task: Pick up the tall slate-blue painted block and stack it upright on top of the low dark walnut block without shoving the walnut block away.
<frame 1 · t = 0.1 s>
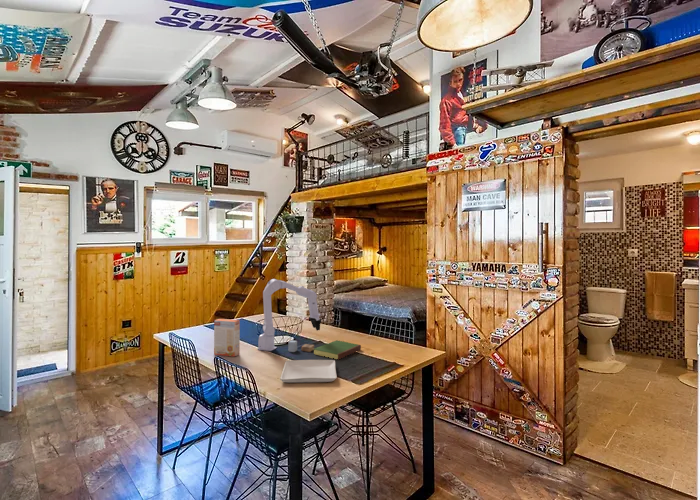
hand: (316, 328, 250), 11 cm above the table, tool pointing down, fingers open, 7 cm apart
hardcover book: (337, 353, 235), on the table
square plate: (309, 375, 196), on the table
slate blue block: (292, 350, 236), on the table
walnut base block: (307, 350, 239), on the table
cracker box: (226, 354, 227), on the table
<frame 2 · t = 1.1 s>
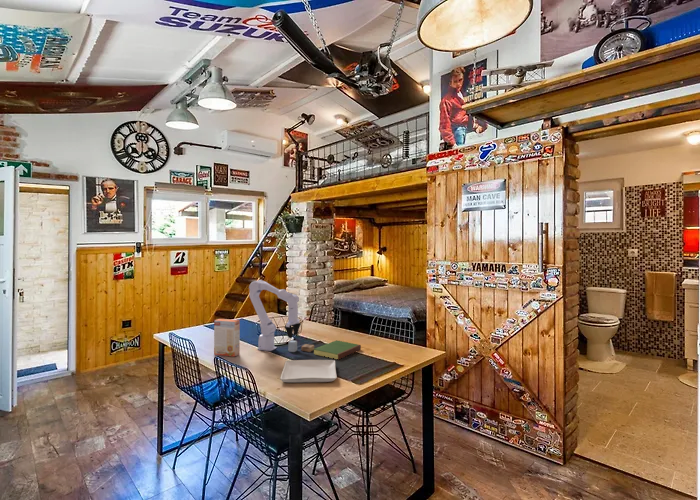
hand: (292, 336, 236), 9 cm above the table, tool pointing down, fingers open, 7 cm apart
nothing on the table moved.
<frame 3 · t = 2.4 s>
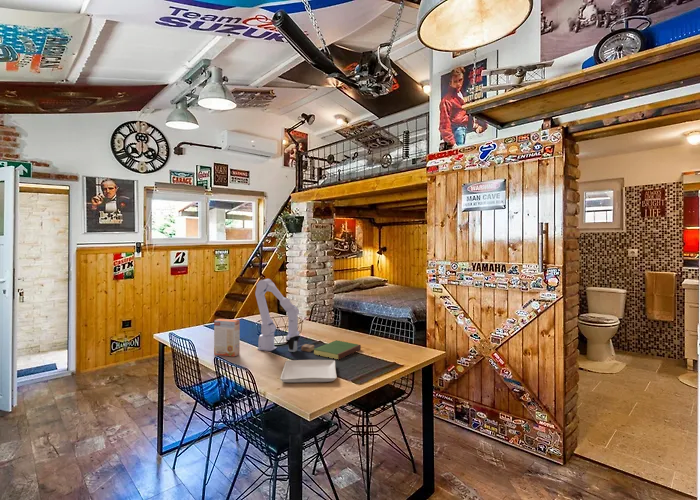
hand: (292, 348, 236), 1 cm above the table, tool pointing down, fingers closed on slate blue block, 4 cm apart
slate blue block: (292, 350, 236), on the table, touching gripper
everything else where it was.
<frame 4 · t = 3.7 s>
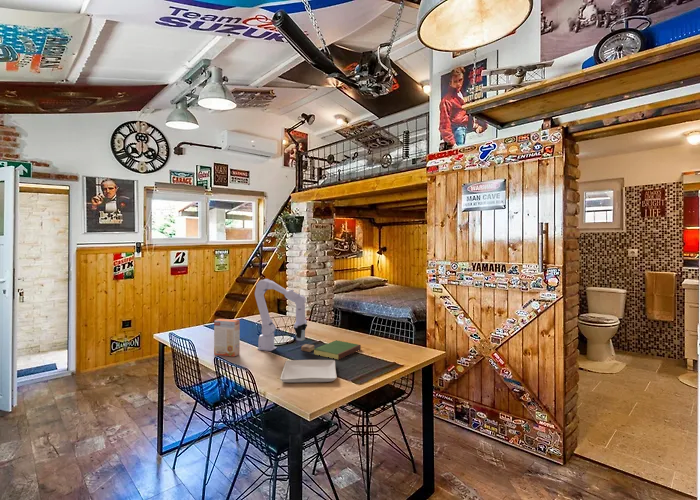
hand: (300, 336, 237), 9 cm above the table, tool pointing down, fingers closed on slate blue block, 4 cm apart
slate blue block: (300, 339, 237), point 7 cm above the table, touching gripper
everything else where it was.
when the fingers open (5 cm above the table, at t = 5.1 s): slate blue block stays where it is, resting on walnut base block.
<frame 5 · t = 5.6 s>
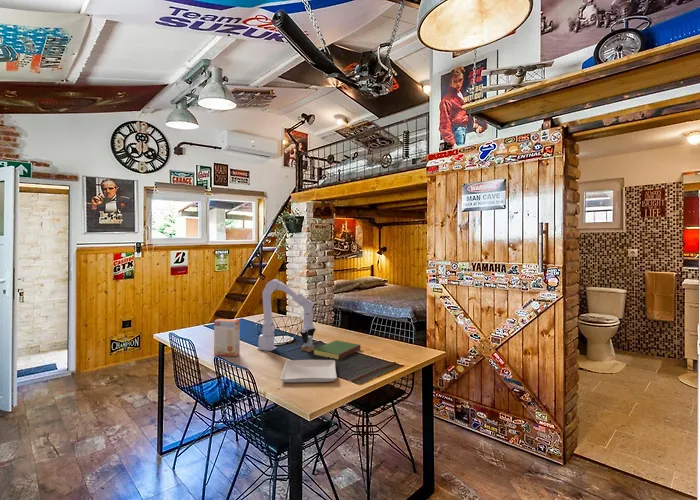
hand: (307, 341, 238), 5 cm above the table, tool pointing down, fingers open, 7 cm apart
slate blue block: (308, 345, 238), point 3 cm above the table, touching walnut base block
walnut base block: (307, 350, 239), on the table, touching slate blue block
everything else where it was.
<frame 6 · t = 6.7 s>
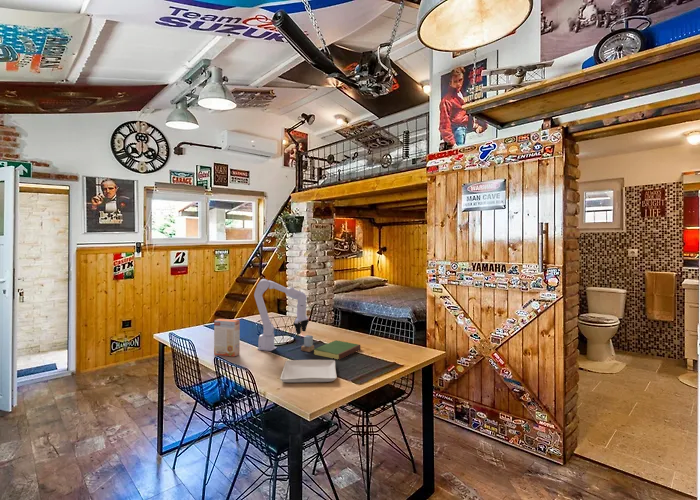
hand: (301, 332, 243), 10 cm above the table, tool pointing down, fingers open, 7 cm apart
nothing on the table moved.
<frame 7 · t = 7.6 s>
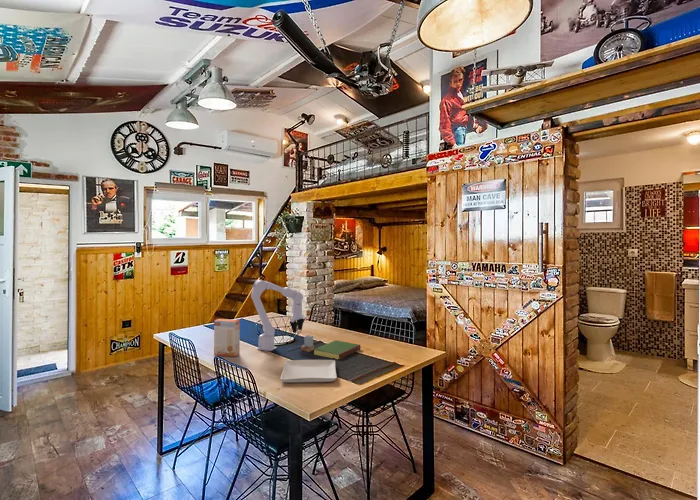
hand: (297, 331, 246), 10 cm above the table, tool pointing down, fingers open, 7 cm apart
nothing on the table moved.
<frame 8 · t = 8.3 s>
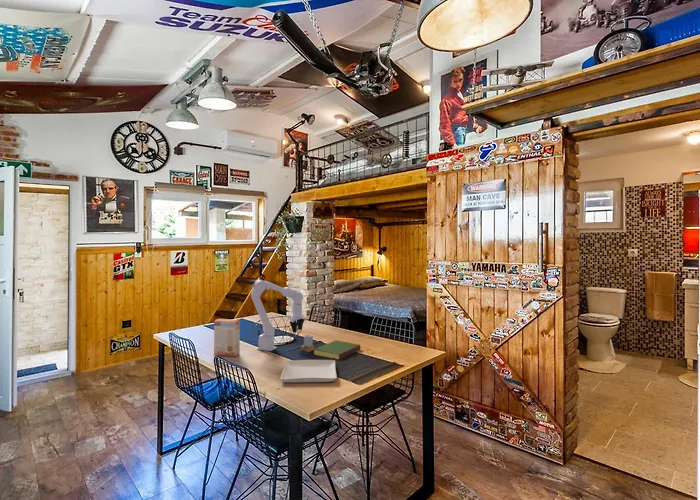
hand: (297, 331, 246), 10 cm above the table, tool pointing down, fingers open, 7 cm apart
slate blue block: (308, 345, 238), point 3 cm above the table
walnut base block: (307, 350, 238), on the table
everything else where it was.
at the end: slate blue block 0.5 cm off-centre on the walnut base block, point 3.0 cm above the walnut base block's base; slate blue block tilted 0°; walnut base block moved 0.5 cm from its start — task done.
